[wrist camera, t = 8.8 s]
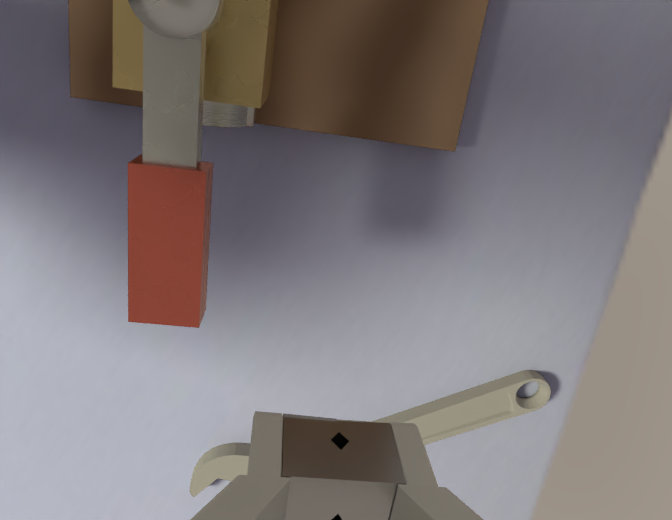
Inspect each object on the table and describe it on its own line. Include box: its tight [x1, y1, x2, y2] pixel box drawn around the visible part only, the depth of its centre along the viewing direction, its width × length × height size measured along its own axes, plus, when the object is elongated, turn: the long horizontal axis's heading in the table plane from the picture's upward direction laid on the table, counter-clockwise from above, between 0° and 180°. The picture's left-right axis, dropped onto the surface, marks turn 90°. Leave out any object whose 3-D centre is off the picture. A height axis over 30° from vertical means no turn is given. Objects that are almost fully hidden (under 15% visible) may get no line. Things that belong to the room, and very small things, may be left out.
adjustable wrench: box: [190, 370, 551, 497], centre depth 38 cm, size 25×6×2 cm, turn 104°
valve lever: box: [128, 0, 224, 328], centre depth 19 cm, size 13×3×2 cm, turn 173°
